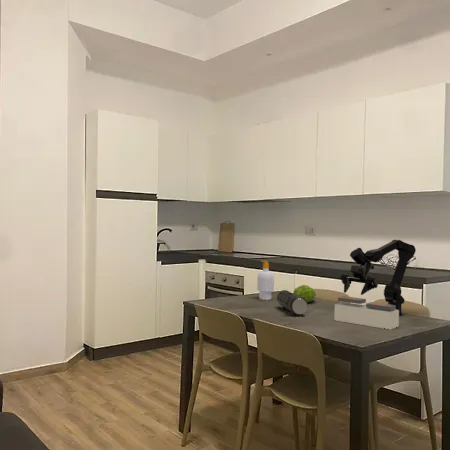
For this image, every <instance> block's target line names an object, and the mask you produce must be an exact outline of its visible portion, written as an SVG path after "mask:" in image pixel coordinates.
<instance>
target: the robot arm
mask: <svg viewBox="0 0 450 450" xmlns="http://www.w3.org/2000/svg"><path fill="white" fill-rule="evenodd" d="M395 250H396V251H397V255H398V262H397V264H396V267H395V270H394V273H393V275H392V279H391V281H390V283H388V284H385V286H384V290H383V296H384V300H385V302H386V303H387V304H390V305H396V310H399V316H403V315H404V314H403V313H402V304H405V298H404V297H403V295H402V287H401V284H402V283H403V282H402V281H403V279H404V277H405V272H406V270H407V266H408V265H409V264H408V263H409V261H411V260H412V258H414V255H415V254H416V251H417V249H416V247H415V245H414V244H411V243H407V242H404V241H402V240H401V239H393V240H391V241H390V242H387V243H385V244H384V245H381V246H380V247H378V248H374V249H370V250H366V251H365V252H364V251H363V249H362V248H361V247H357V248H356V249H354V250H352V251H351V252H350V254H349V256H350V258H351V259H352V260H353V262H354V263H355V264H356V265H354V264H352V265H351V266H350V270H349V271H350V273H352V274H351V275H352V276H353V277H352V276H350V274H347V273H346V274H345V273H341V274H340V276H339V279H340V281H341V282H342V284H343V293H344V294H345V293H347V292H348V290H349V289H350V288H351V284H352V282H354V283H359V284H363V287H362V289H361V292H360V295H361V296H363V295H364V294H366V293H368V292H370V291H371V290H374V289H377V288H378V286H379V283H378V281H377V278H376V277H375V276H370V275H369V273H370V271H371V270H375V266H374V264H373V263H379V262H380V261H381V260H382V259H383V258H384V256H385V255H387V254H389V253H391V252H393V251H395Z"/></svg>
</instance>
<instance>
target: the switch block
mask: <svg viewBox="0 0 450 450" xmlns="http://www.w3.org/2000/svg"><path fill="white" fill-rule="evenodd" d="M333 318H334V321H337V322H343V323H347V324H348V323H349V324H355V325H362V326H366V327H372V328H373V327H374V328H377V329H384V328H385V330H390V331H391V330H394V329H396V327H397V328H399V325H400V315H399V310H396V309H394V310H391V311H389V310H381V309H374V308H367V307H366V304H356V303H349V302H339V303H335V304H334V317H333Z"/></svg>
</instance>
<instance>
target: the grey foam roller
mask: <svg viewBox="0 0 450 450" xmlns="http://www.w3.org/2000/svg"><path fill="white" fill-rule="evenodd" d="M276 302H277V303H278V304H279V305H280V306H282V307H283V308H284V309H286V310H287V311H289V312H291V313H292V314H293V315H295V316H296V315H298V316H299V315H303V314H304V313H305V312H307V309H308V302H306V300H305V299H304V298H303V297H301V296H297V295H295V294H293V292H291V291H290V290H286V289H284V290H280V291H279V292H278V293H277V295H276Z"/></svg>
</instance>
